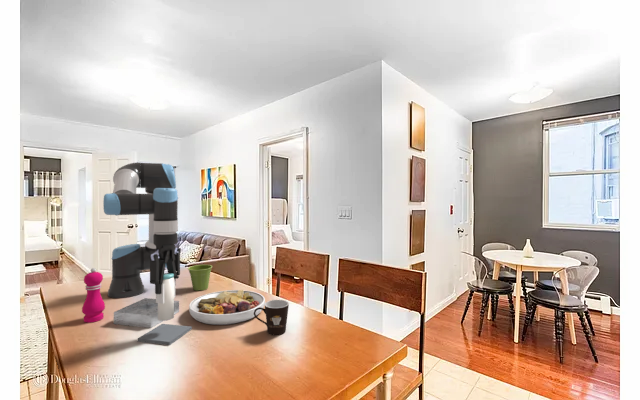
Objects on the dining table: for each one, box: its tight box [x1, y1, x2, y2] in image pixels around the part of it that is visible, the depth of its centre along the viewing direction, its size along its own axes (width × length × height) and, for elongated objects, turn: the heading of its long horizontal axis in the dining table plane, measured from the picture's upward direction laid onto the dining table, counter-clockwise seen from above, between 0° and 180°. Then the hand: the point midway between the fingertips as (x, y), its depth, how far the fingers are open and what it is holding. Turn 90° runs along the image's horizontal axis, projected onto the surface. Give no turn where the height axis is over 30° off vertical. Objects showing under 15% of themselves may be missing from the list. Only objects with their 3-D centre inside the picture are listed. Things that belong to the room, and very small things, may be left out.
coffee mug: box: [254, 299, 290, 336], centre depth 113 cm, size 12×9×10 cm
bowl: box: [188, 289, 266, 326], centre depth 130 cm, size 30×30×8 cm
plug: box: [158, 272, 175, 322], centre depth 108 cm, size 5×5×15 cm
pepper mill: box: [81, 267, 106, 324], centre depth 121 cm, size 7×7×20 cm
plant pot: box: [187, 264, 213, 292], centre depth 161 cm, size 12×12×11 cm
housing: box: [113, 297, 180, 329], centre depth 124 cm, size 16×16×4 cm
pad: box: [137, 323, 193, 346], centre depth 109 cm, size 12×12×1 cm
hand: (165, 300), depth 108 cm, fingers closed on plug, 5 cm apart
